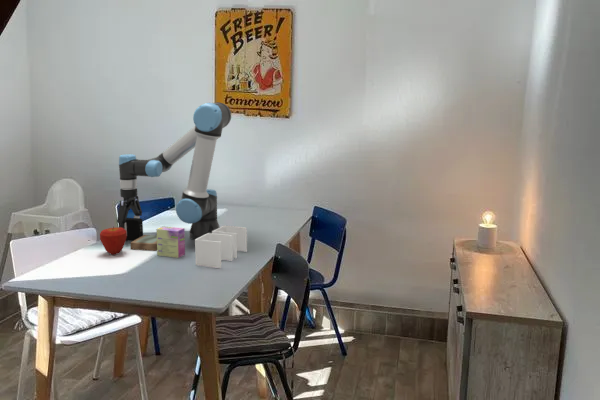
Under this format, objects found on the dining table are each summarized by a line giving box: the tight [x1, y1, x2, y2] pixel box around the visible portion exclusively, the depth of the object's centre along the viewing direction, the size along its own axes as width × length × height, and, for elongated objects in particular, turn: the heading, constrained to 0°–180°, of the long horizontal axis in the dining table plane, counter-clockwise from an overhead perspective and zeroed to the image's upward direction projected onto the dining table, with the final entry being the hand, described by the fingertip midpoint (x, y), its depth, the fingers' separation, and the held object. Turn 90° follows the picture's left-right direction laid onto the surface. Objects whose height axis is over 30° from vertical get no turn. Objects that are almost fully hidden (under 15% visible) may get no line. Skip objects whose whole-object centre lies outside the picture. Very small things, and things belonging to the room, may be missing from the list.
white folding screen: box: [194, 225, 248, 269], centre depth 243 cm, size 25×11×11 cm, turn 160°
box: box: [156, 225, 186, 259], centre depth 246 cm, size 10×6×12 cm, turn 71°
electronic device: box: [118, 217, 144, 242], centre depth 271 cm, size 4×10×10 cm, turn 78°
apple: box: [99, 226, 127, 256], centre depth 248 cm, size 11×11×12 cm
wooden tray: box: [129, 234, 157, 252], centre depth 261 cm, size 12×14×3 cm
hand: (130, 233), depth 271 cm, fingers open, 13 cm apart
